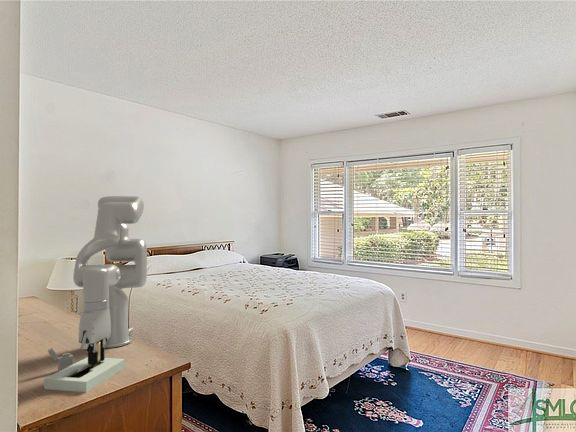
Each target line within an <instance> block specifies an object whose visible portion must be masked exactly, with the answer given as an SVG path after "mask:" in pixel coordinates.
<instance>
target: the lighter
mask: <svg viewBox="0 0 576 432" xmlns="http://www.w3.org/2000/svg"><path fill="white" fill-rule="evenodd" d="M47 352H48V354H49V355H50V357H51V358H52V360H53V362H56V361H58V362H57V363H58V365H57V369H58V370H57V372H59V371H61V370H63V369H65V368H67V367H69V366H71V365H73V364H74V355H73V354H71V353H69V352H65V353H62V354H61V356H60V357H58V355H57V353H56V351H55V350H54V349H53V347H50V348H49V349H47Z"/></svg>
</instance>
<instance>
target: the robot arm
mask: <svg viewBox="0 0 576 432" xmlns="http://www.w3.org/2000/svg"><path fill="white" fill-rule="evenodd" d="M144 207H145V205H144V201H143V199H142V198H141V197H139V196H136V195H135V196H134V195H133V196H130V195H129V196H127V195H126V196H125V195H124V196H123V195H122V196H121V195H110V196H109V195H108V196H107V195H106V196H102V197H101V198H99V200H98V202H97V208H98V209H97V214H96V215H97V216H96V223H95V229H94V235H93V238H92V239H91V240H89V242H87V243H86V244H85V245H84V246H83V247H82V248H81V249H80V251H79V252H78V254H77V256H76V259H75V263H74V269H73V274H72V275H73V278H72V279H73V283H74V284H75V285H76V286H77V287H79V288H82V312H81V314H80V319H79V326H78V343H79V344H80V349H81V350H85V351H86V353H87V357H88V364H92V365H96V364H98V352H96V348H97V342H98V341H100V340H101V361H104V358H105V349H107V348H110V349H111V348H119V347H123V346H126V345H128V344H131V343H132V342H133V337H132V336H130V334H131V333H133V332H134V330H135V329H134V327H133V326H131V327H130V328H129V298H128V295H127V294H126V293H125V292H124V291H123V290H124V289H133V288H135V289H136V288H143V287H144V286H145V285H146V283H147V273H148V272H147V271H148V270H147V269H148V268H147V267H148V261H147V260H148V249H147V248H148V247H147V243H146V242H145V240H144V239H142V238H129V225H130V224H131V225H133V224H136V223H138V222H139V221H140V219H141V216H142V215H143V213H144ZM104 250H105V252H104V253H105V258H106V260H107V262H111V263H113V262H114V263H122V262H123V263H124V262H127V263H130V262H132V263H133V262H134V263H135V264H87V263H88V261H89V260H90V258H91V257H93V256H94V255H96V254H98V253H100V252H102V251H104ZM92 345H93V347H92Z"/></svg>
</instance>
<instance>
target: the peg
mask: <svg viewBox="0 0 576 432" xmlns="http://www.w3.org/2000/svg"><path fill="white" fill-rule="evenodd" d="M91 346H92V347H93V345H91ZM96 352H98V364H96V365H92V366H91V367H88V373H89V372H90V370H91V369H93V368H94V367H96V366H98V365H100V364H101V340H100V341H98V342H97V348H96Z"/></svg>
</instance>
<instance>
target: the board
mask: <svg viewBox="0 0 576 432" xmlns="http://www.w3.org/2000/svg"><path fill="white" fill-rule="evenodd" d="M91 366H92V364H88V356H86V357H84V358H83V359H81V360H79V361H77V362H75V363H73V365H71V366H69V367H67V368H65V369H63V370H61V371H59V372H58V371H57V372H55V373H53V374H51V375H49V376H47V377H45V378H44V381H43V382H44V383H43V384H44V385H43V389H44V390H53V391H63V392H74V393H75V392H78V393H88V392H89V391H91V390H93V389H94V388H96V387H97V386H99V385H101V384H102V383H104V382H106V381H107V380H109V379H110V378H112V377H114V375H116V374H118V373H120V372H121V371H123V370H124V369H126V358H114V357H104V361H101V364H100V365H98V366H96V367H94V368H93V369H91V370H90V372H89V371H88V373H86V374H84V375H83V376H80V377H73V376H75V375H76V374H78V373H80V372H82V371H84V370H86V369H87V368H88V369H89V368H90V367H91Z"/></svg>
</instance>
